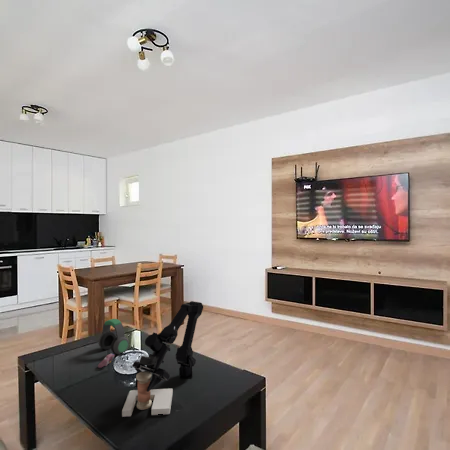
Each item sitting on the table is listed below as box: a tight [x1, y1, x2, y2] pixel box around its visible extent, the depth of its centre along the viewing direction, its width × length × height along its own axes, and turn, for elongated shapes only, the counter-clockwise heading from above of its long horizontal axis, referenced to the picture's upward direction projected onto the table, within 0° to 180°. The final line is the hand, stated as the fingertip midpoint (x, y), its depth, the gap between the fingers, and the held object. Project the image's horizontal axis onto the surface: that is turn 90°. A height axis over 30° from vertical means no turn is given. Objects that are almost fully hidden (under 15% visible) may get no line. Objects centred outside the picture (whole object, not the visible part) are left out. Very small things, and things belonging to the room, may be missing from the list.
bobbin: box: [135, 371, 153, 411], centre depth 144 cm, size 7×7×14 cm
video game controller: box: [97, 353, 116, 369], centre depth 184 cm, size 10×5×7 cm, turn 169°
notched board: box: [121, 388, 174, 418], centre depth 145 cm, size 20×16×2 cm
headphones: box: [97, 318, 130, 355], centre depth 202 cm, size 19×11×20 cm, turn 55°
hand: (141, 389), depth 143 cm, fingers open, 6 cm apart
